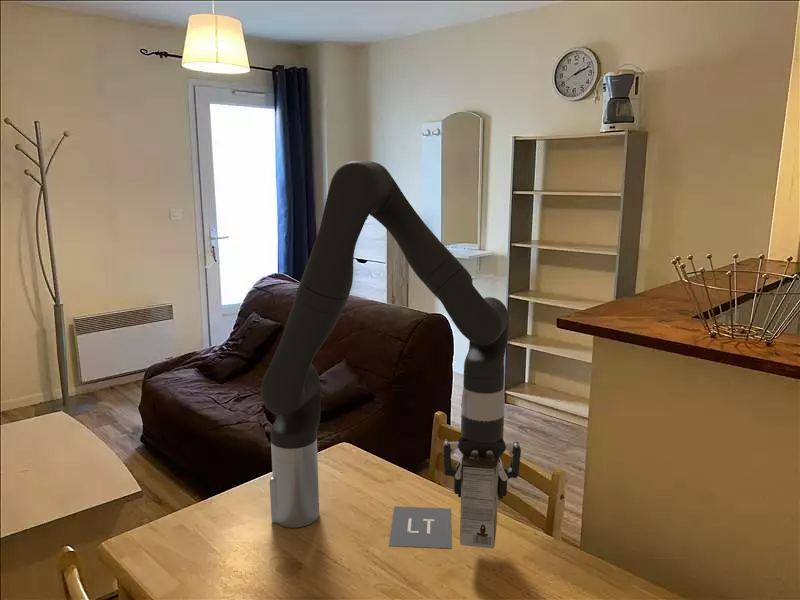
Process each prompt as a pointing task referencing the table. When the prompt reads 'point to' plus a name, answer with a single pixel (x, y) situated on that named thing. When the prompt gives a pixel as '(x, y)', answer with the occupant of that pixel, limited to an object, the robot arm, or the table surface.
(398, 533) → the mat
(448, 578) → the table surface
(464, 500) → the coffee box
